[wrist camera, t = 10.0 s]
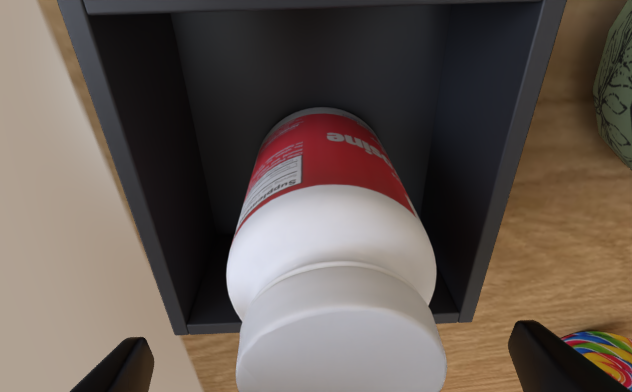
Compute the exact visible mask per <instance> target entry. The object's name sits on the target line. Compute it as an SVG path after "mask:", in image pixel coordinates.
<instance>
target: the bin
mask: <svg viewBox="0 0 632 392" xmlns="http://www.w3.org/2000/svg"><path fill="white" fill-rule="evenodd" d="M57 2H58V5H59V8H60V11H61V13H62V16H63V19H64V22H65V25H66V28H67V30H68V33H69V36H70V39H71V42H72V45H73V48H74V50H75V53H76V56H77V59H78V62H79V65H80V67H81V70H82V73H83V76H84V79H85V82H86V84H87V87H88V90H89V93H90V96H91V99H92V101H93V104H94V107H95V110H96V113H97V116H98V118H99V121H100V124H101V127H102V130H103V133H104V136H105V138H106V141H107V144H108V147H109V150H110V153H111V155H112V158H113V161H114V164H115V167H116V170H117V172H118V175H119V178H120V181H121V184H122V187H123V189H124V192H125V195H126V198H127V201H128V204H129V207H130V209H131V212H132V215H133V218H134V221H135V224H136V226H137V229H138V232H139V235H140V238H141V241H142V243H143V246H144V249H145V252H146V255H147V258H148V260H149V263H150V266H151V269H152V272H153V275H154V278H155V280H156V283H157V286H158V289H159V292H160V295H161V297H162V300H163V303H164V306H165V309H166V312H167V314H168V317H169V320H170V323H171V325H172V329H173V331H174V334H175V335H188V334H190V335H195V334H217V333H240V330H241V325H242V321H241V319H240V317H239V316H238V314H237V313H236V311H235V309H234V307H233V305H232V302H231V300H230V297H229V294H228V288H227V278H226V274H227V263H228V258H229V252H230V248H231V245H232V241H233V238H234V235H235V232H236V228H237V225H238V222H239V218H240V214H241V211H242V207H243V204H244V200H245V197H246V193H247V190H248V186H249V183H250V179H251V176H252V172H253V169H254V166H255V161H256V158H257V155H258V152H259V149H260V147H261V144H262V142H263V140H264V139H265V137H266V136H267V134H268V133H269V132H270V130H271V129H272V128H273V127H274V126H275V125H276V124H277V123H279V122H280V121H281V120H283V119H284V118H285V117H287V116H289V115H291V114H293V113H295V112H298V111H301V110H304V109H308V108H315V107H330V108H336V109H340V110H343V111H346V112H349V113H351V114H353V115H355V116H356V117H358V118H360V119H361V120H362V121H364V122H365V123H366V124H367V125H368V126H369V127H370V128H371V129H372V130H373V131H374V133H375V134H376V136H377V137H378V139H379V140H380V142H381V144H382V145H383V147H384V149H385V151H386V153H387V155H388V157H389V159H390V161H391V163H392V165H393V167H394V169H395V171H396V173H397V175H398V177H399V179H400V181H401V183H402V185H403V187H404V189H405V191H406V193H407V195H408V196H409V199H410V201H411V203H412V205H413V207H414V209H415V211H416V213H417V215H418V217H419V219H420V221H421V223H422V225H423V227H424V229H425V231H426V233H427V235H428V238H429V241H430V243H431V246H432V249H433V252H434V256H435V261H436V282H435V289H434V292H433V295H432V298H431V301H430V303H429V305H428V307H429V308H430V310H431V313H432V315H433V318H434V321H435V324H440V323H457V322H459V323H464V322H472V319H473V316H474V313H475V309H476V306H477V303H478V299H479V296H480V292H481V289H482V286H483V282H484V279H485V276H486V272H487V269H488V265H489V262H490V259H491V255H492V252H493V248H494V245H495V242H496V238H497V235H498V232H499V228H500V225H501V221H502V218H503V215H504V211H505V208H506V204H507V201H508V198H509V194H510V191H511V188H512V184H513V181H514V177H515V174H516V171H517V167H518V164H519V161H520V157H521V154H522V150H523V147H524V144H525V140H526V137H527V133H528V130H529V127H530V123H531V120H532V117H533V113H534V110H535V106H536V103H537V100H538V96H539V93H540V90H541V86H542V83H543V79H544V76H545V73H546V69H547V66H548V62H549V59H550V56H551V52H552V49H553V46H554V42H555V39H556V35H557V32H558V29H559V25H560V22H561V18H562V15H563V12H564V8H565V5H566V2H567V0H57Z"/></svg>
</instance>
